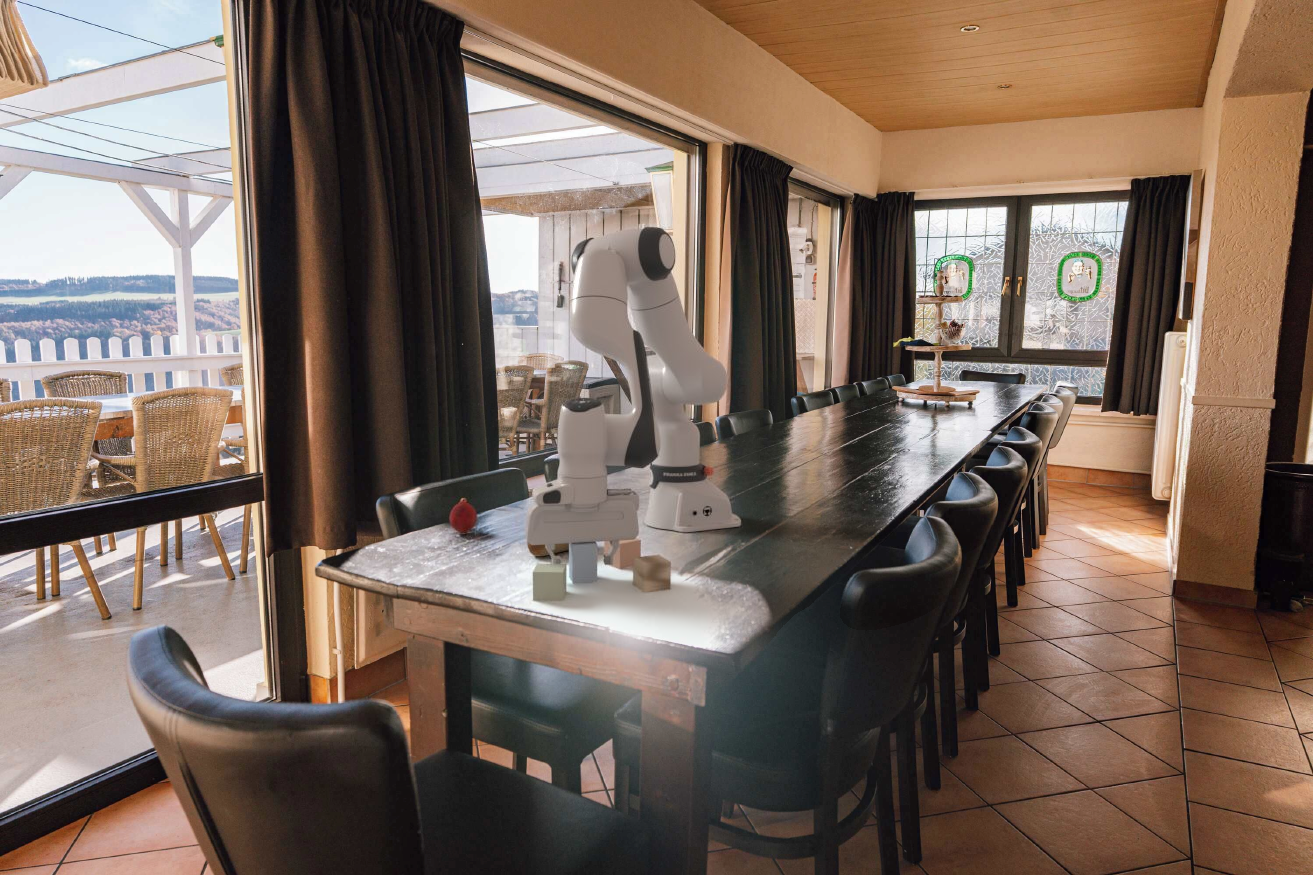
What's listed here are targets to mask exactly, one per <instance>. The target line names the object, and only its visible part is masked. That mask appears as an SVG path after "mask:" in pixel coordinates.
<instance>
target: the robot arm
mask: <svg viewBox="0 0 1313 875" xmlns="http://www.w3.org/2000/svg"><path fill="white" fill-rule="evenodd" d="M570 264H571V270H572V274H573V279H572V283H571V292H570V300H569V301H570V302H569V326H570V329H571V330H570V331H571V332H572V334H573V336H574V338H575V339H576V340H577V341H578V342H579V343H580V344H581V345H582V346H583V347H585V348H586V349H588V350H590V351H592V352H593V353H596V354H598V355H600V356H603V357H606V358H609V359H610V360H613V361H615V362H617V363H618V364H620V365H622V366H623V367H624V369H625V370H626V372H627V382H628V383H627V384H628V387H629V393H630V399H631V400H630V401H631V407H632V410H631V411H630V412H629V413H626V414H623V413H622V414H621V413H619V414H617V413H616V414H615V413H606V410H605V406H604V403H603V401H601V400H599V399H596V398H592V397H576V398H571V399H569V400H566V401H564V402H563V403H562V404H561V407H560V412H559V418H558V426H557V430H556V451H557V454H558V457H559V465H558V468H557V478H556V479H553V480H552V481H548V482H545V483H543V484H540V485H537V486H535V487H533V489H532V493H531V494H532V495H531V496H532V499H533V501H532V502H531V503H530V504H529V506H528V509H527V513H526V518H525V520H526V521H525V529H524V530H525V534H524V535H525V540H526V542H527V541H528V542H529V543H530V544H531V545H545V546H546V549H547V551H548V553H549V556H550V558H551V564H562V558H561V556H559V555H555V553H553V551H552V550H554V549H555V544H564V543H582V542H596V543H599V542H600V543H601V542H604V541H610V544H611V545H612V546H611V548H610V550H609V552H608V553H604V552H603V554H602V555H603V564H604V566H610V565H613V555H614V554H615V553H616V551H617V549H618V548H619V540H634V539H635V538H637V537H638V536H639V533H640V531H639V530H640V529H639V519H638V518H639V517H638V510H639V509H640V496H639V494H638V493H637V492H636V491H635V490H633V489H632V488H629V487H628V488H627V487H626V488H621V489H620V488H608V471H607V470H608V469H607V466H621V467H623V466H624V467H627V468H634V469H645V468H647V467H648V466H649V470H648V483H649V487H650V491H649V497H648V498H649V500H648V504H647V505H648V506H647V509H646V510H647V511H646V515H645V518H644V521H643V523H644V524H645V525H646V526H649V527H651V528H655V529H660V530H661V529H662V530H670V531H675V532H680V533H690V532H691V533H693V532H699V531H711V530H717V529H718V530H719V529H729V528H735V527H736V528H737V527H741V525H742V520H741V518H740V517H739V516H738V515H737V514H734V513H733V511H732V505H731V501H730V498H729V496H728V495H727V494H726V493H725V492H723V491H722V490H721V489H720V488H718V486H716V485H715V484H714V483H712V482H711V481H710V480H709V479H707V477H711V476H713V474H714V472H715V470H714V468H713V467H711V466H709V465H708V466H707V465H704V464H703V463H701V462H700V453H701V452H700V448H701V446H700V445H701V434H700V430H699V427H698V426H697V425H696V424H695V423H694V422H692V420H691V419H689V417H688V416H687V413H686V412H685V409H684V405H692V406H702V405H703V406H704V405H709V404H715V403H717V402H719V401H720V400H721V399H722V397H724V395H725V393H726V391H727V389H728V382H729V381H728V380H729V378H728V374H727V373H728V372H727V370H726V368H725V366H724V364H723V363H722V362H720V361H719V360H717V359H716V358H714V357H713V355H711V354H710V353H709V352H707V350H705V348H704V347H703V346H702V344H700V342H699V341H698V339H697V338H696V337H695V335H694V333H693V331H692V329H691V328H690V326H689V325H690V324H688V321H687V317H686V314H685V312H684V308H683V304H682V300H681V297H680V295H679V294H680V293H679V290H678V287H677V284H676V280H675V278H674V275H673V273H672V271H673V269H674V267H675V264H676V248H675V244H674V241H673V239H672V237H671V235H670V234H669V233H668V232H667V231H665V229H663V228H662V227H657V226H645V227H643V228H632V229H631V228H630V229H623V230H622V229H621V230H618V231H615V232H612V233H611V232H610V233H607V234H604V235H601V236H597V237H589V238H587V239H584V240H582V241H580V242H579V243H578V244H576V246H575V247H574V249H573V252H572V253H571V260H570ZM628 305H629V309H630V311H631V315H632V318H633V319H632V320H633V321H634V326H635V329H634V328H633V327H632V325H631V323H630V319H629V315H628ZM645 346H646V347H647V348H648V349H651V350H652V351H653V353H655V354H652V355H651V354H650V355H647V351H646V347H645ZM551 549H552V550H551Z"/></svg>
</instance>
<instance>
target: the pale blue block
mask: <svg viewBox="0 0 1313 875" xmlns="http://www.w3.org/2000/svg"><path fill="white" fill-rule="evenodd" d="M568 578H569V579H570V581H571V583H572V585H574V584H575V585H578V584H589V583H598V542H582V543H569V550H568Z"/></svg>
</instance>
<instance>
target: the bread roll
mask: <svg viewBox="0 0 1313 875" xmlns="http://www.w3.org/2000/svg"><path fill="white" fill-rule="evenodd" d="M526 543H527V544H526V545H527V548H528V550H529V553H530V554H531V555H533V556H536V557H543V556H548V555H549V556H550V554H549V553H548V551H547V549H546V546H545V545H531V544H530V543H529V542H528V541H527V540H526ZM551 550H552V549H551ZM552 551H553V553H554V554H557V553H561V552H566V551H569V543H564V544H555V549H554V550H552Z"/></svg>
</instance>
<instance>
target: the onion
mask: <svg viewBox="0 0 1313 875" xmlns="http://www.w3.org/2000/svg"><path fill="white" fill-rule="evenodd" d="M477 518H478V515H477V511H476V508H475V507H474V506H473V505H471V504H470V503H469V502H467V498H465V497H464V498H463V497H462V498H461V499H460V500H459V502H458V503H457V504H456V505H455V506H453V508H452V509H451V511H450V513H449V519H448V520H449V523H450V525H451V527H452V528H453V529H454V530H455V531H456V532H458V533H460V534H461V533H466V534H468V532H469V531H471V530H472V529H473V528H474V527H475V525H476V524H477Z"/></svg>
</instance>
